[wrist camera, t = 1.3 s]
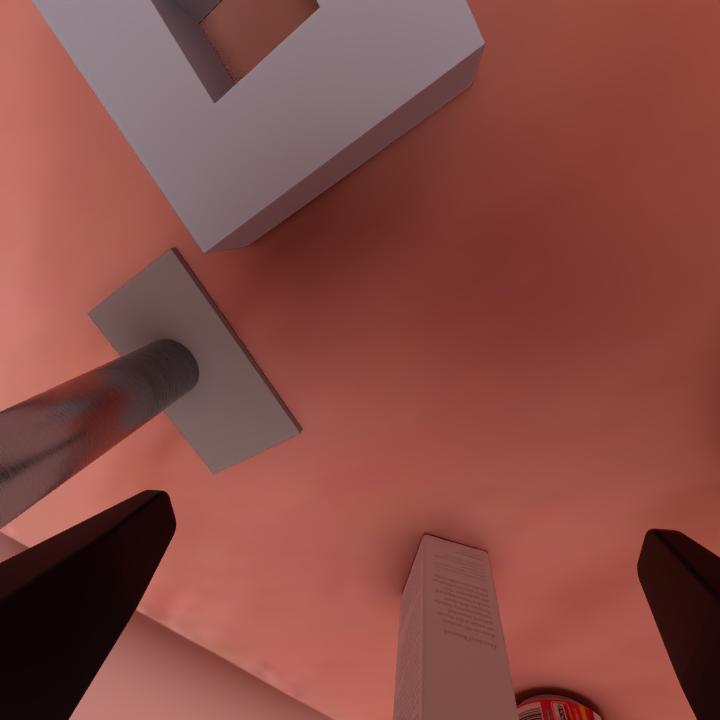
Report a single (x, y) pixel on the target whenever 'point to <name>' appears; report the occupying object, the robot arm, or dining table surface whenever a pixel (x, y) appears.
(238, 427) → the base plate
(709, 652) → the robot arm
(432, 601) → the skincare box
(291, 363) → the dining table surface
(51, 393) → the pin
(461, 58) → the block
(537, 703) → the soda can
